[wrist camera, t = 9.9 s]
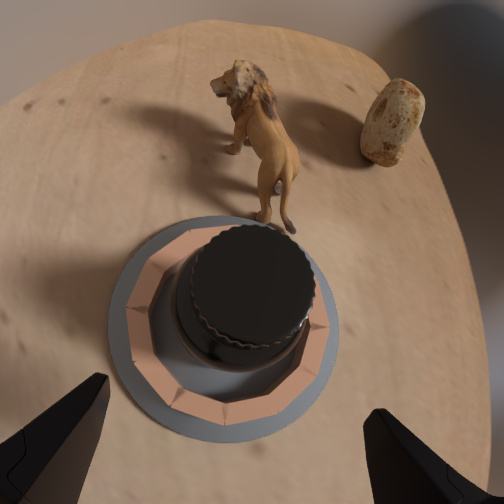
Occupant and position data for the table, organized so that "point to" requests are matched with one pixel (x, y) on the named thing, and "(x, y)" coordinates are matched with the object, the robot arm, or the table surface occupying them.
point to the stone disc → (391, 122)
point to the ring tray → (194, 373)
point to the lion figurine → (260, 133)
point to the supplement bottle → (242, 299)
